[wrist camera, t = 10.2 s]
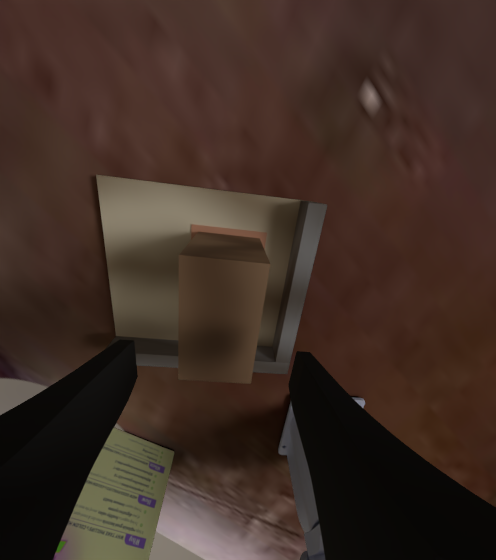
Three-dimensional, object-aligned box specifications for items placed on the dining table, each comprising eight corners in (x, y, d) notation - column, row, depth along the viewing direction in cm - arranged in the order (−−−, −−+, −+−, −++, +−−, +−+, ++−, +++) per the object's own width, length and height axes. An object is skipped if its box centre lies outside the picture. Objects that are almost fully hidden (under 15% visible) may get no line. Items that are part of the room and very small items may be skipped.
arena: (281, 353, 22) (286, 374, 20) (120, 342, 21) (105, 363, 18) (314, 201, 17) (327, 204, 14) (101, 175, 15) (76, 173, 13)
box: (69, 444, 26) (-53, 633, 15) (90, 415, 24) (-30, 603, 13) (152, 473, 29) (99, 651, 18) (176, 449, 27) (134, 629, 16)
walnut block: (259, 238, 17) (270, 263, 11) (246, 328, 20) (250, 383, 14) (198, 231, 17) (178, 254, 11) (195, 324, 20) (178, 379, 14)
